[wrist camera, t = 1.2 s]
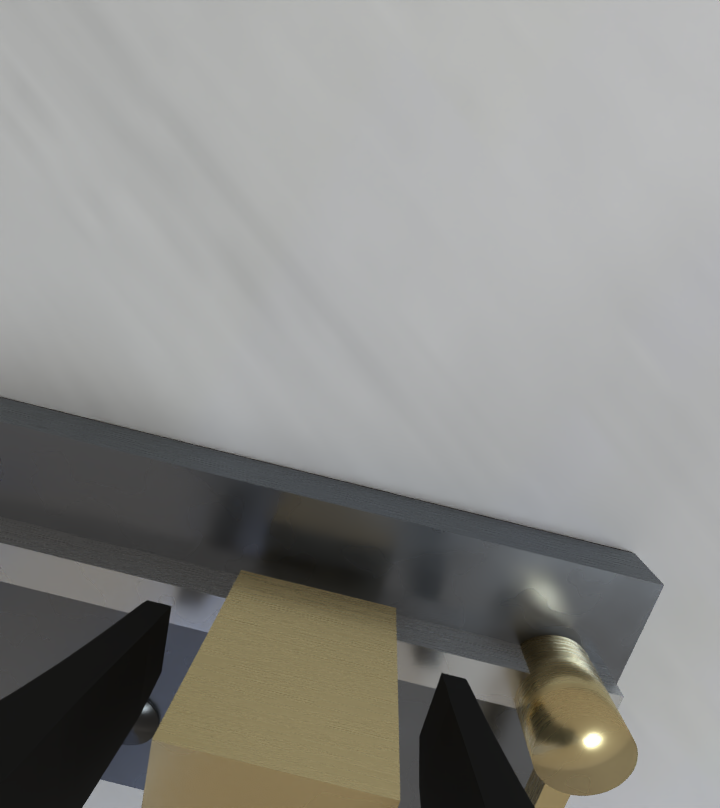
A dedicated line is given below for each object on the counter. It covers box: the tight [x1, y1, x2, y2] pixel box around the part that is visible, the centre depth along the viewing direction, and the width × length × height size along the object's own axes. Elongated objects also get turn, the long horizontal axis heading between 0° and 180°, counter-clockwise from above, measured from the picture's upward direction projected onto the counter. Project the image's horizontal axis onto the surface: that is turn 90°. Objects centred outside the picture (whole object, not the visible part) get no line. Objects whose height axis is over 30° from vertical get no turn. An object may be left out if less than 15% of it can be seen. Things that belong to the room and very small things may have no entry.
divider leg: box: [142, 570, 400, 808], centre depth 11 cm, size 8×4×5 cm, turn 167°
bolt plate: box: [0, 397, 664, 808], centre depth 13 cm, size 12×20×4 cm, turn 77°
